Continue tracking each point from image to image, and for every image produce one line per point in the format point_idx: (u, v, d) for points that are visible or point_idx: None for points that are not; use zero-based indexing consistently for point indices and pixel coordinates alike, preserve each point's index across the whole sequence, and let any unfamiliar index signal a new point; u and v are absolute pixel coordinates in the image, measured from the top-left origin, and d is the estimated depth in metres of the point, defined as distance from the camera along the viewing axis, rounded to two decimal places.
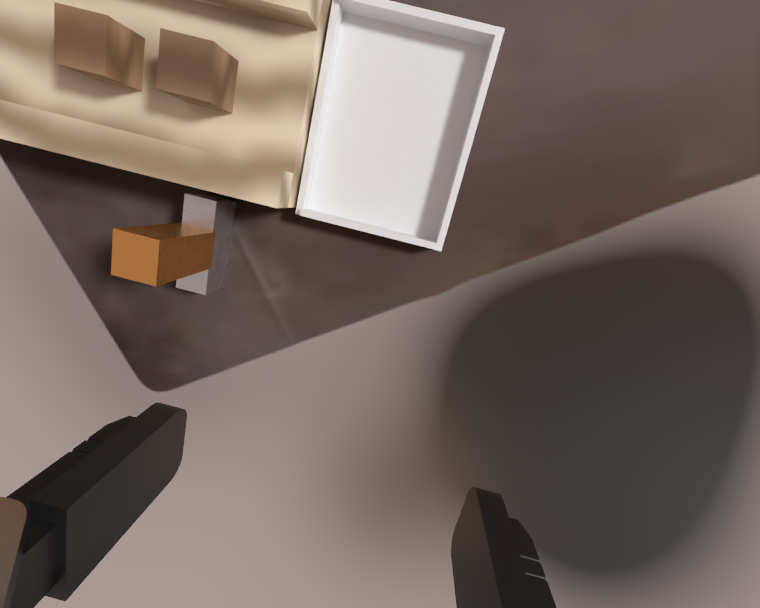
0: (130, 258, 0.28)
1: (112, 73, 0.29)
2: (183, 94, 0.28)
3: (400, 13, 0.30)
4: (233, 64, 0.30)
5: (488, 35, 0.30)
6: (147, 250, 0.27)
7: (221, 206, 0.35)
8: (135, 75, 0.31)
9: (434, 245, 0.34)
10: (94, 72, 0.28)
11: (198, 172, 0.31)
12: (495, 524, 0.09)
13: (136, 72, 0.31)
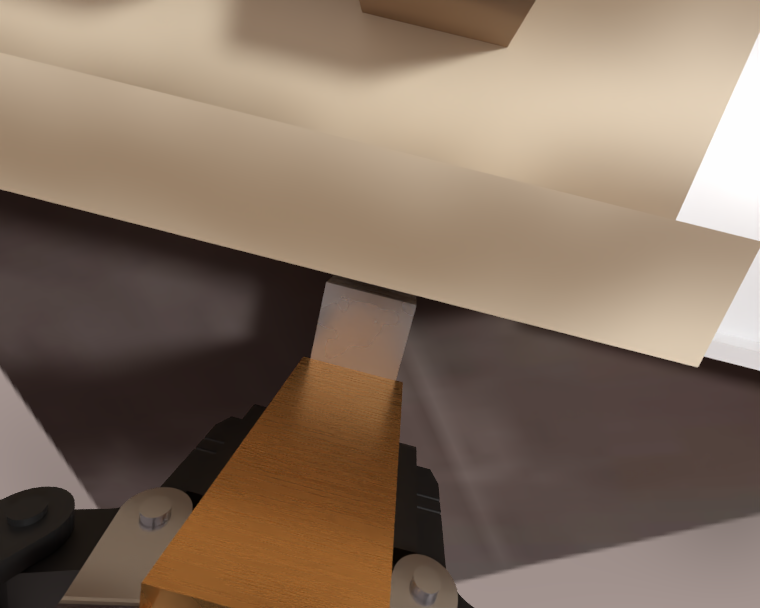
0: None
1: None
2: None
3: None
4: None
5: None
6: None
7: None
8: None
9: None
10: None
11: (433, 243, 0.09)
12: (402, 468, 0.10)
13: None
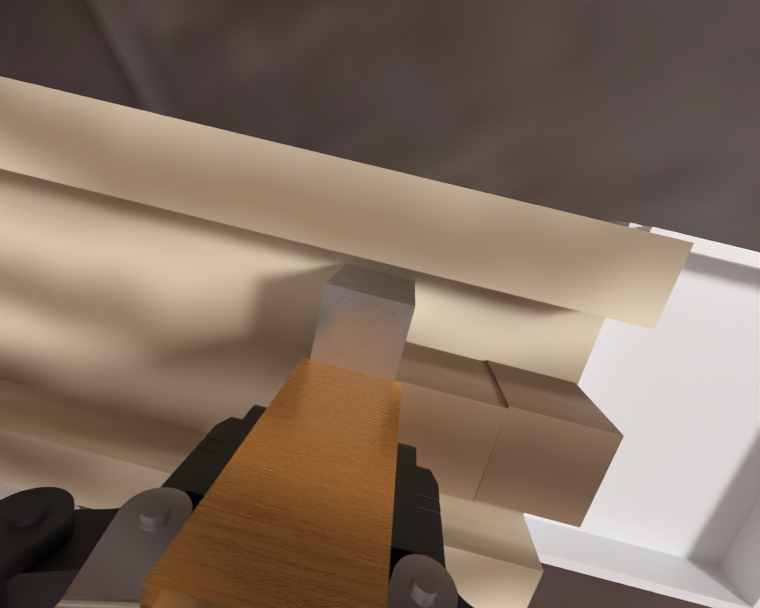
0: None
1: None
2: (529, 512, 0.14)
3: None
4: None
5: None
6: None
7: None
8: None
9: None
10: (451, 494, 0.14)
11: None
12: (402, 468, 0.10)
13: None
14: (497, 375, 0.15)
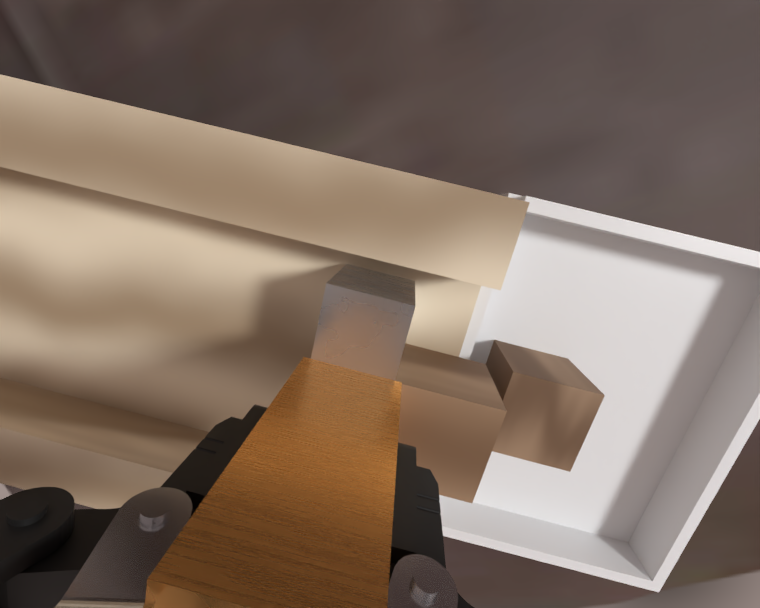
0: None
1: None
2: None
3: (636, 237, 0.16)
4: None
5: None
6: None
7: None
8: None
9: (648, 583, 0.20)
10: (450, 495, 0.14)
11: None
12: (402, 468, 0.10)
13: None
14: (546, 379, 0.16)
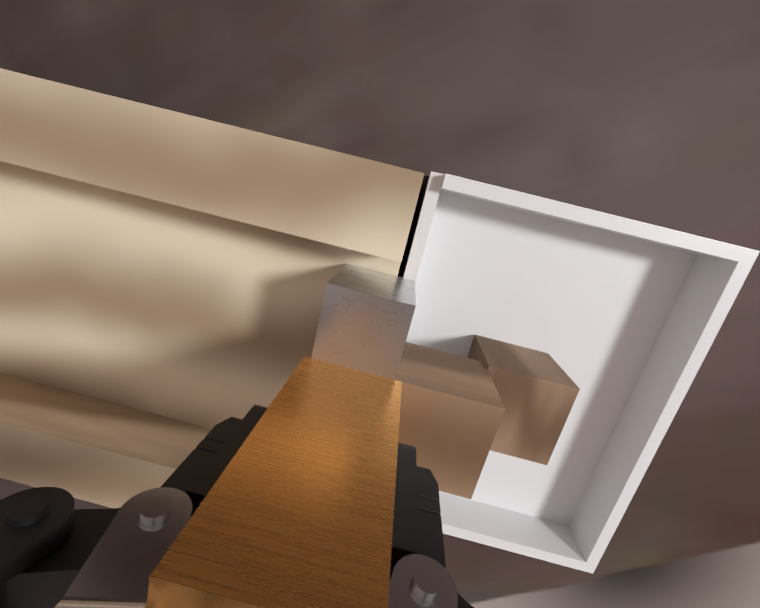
0: None
1: None
2: None
3: (556, 216, 0.16)
4: None
5: (721, 257, 0.16)
6: None
7: None
8: None
9: (582, 564, 0.20)
10: (449, 491, 0.14)
11: None
12: (402, 468, 0.10)
13: None
14: (522, 372, 0.16)
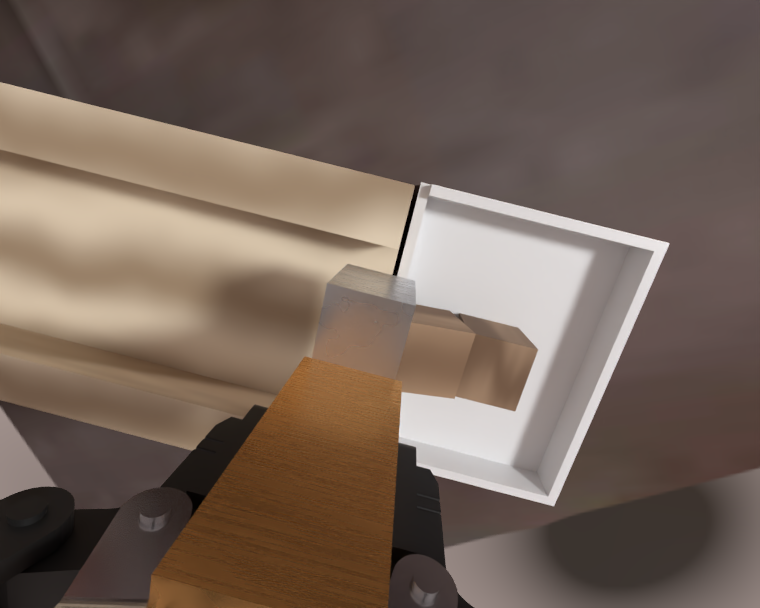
0: None
1: None
2: None
3: (516, 216, 0.21)
4: None
5: (642, 248, 0.21)
6: None
7: None
8: None
9: (544, 498, 0.25)
10: (440, 395, 0.21)
11: None
12: (402, 468, 0.10)
13: None
14: (494, 337, 0.21)
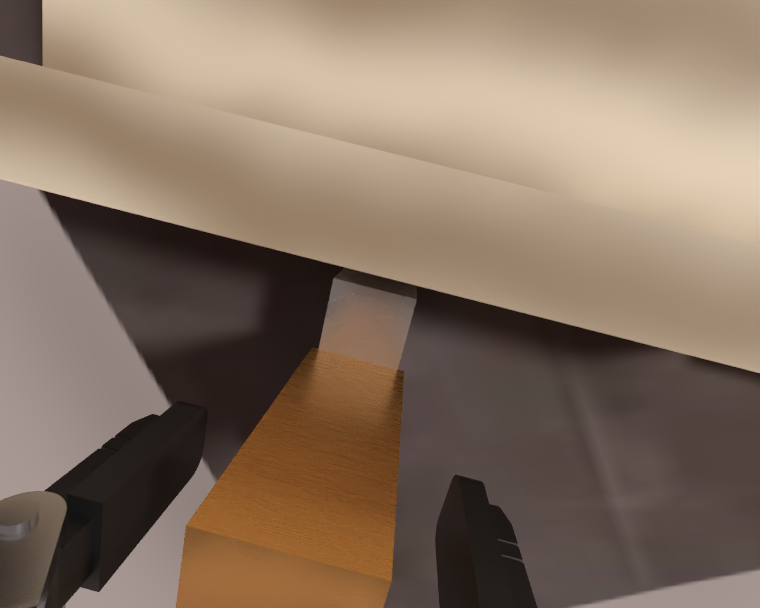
0: None
1: None
2: None
3: None
4: None
5: None
6: None
7: None
8: None
9: None
10: None
11: (743, 316, 0.09)
12: (475, 509, 0.09)
13: None
14: None
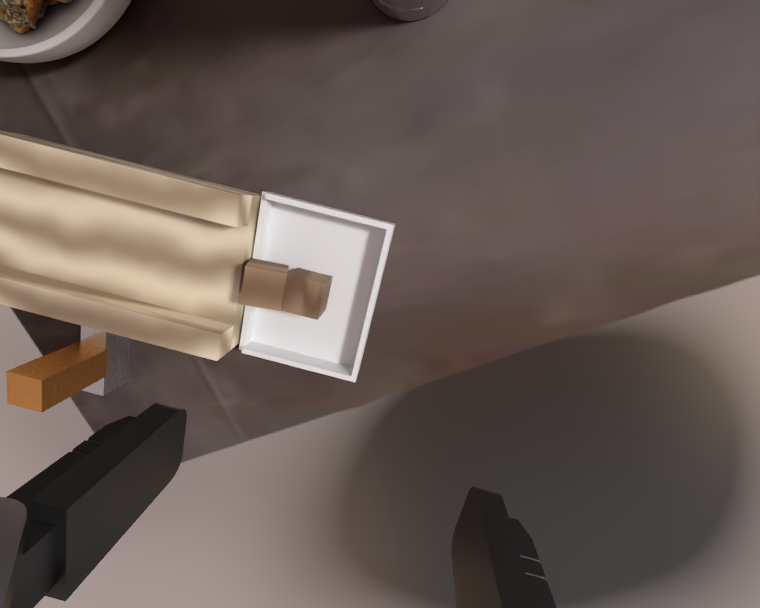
0: (21, 392, 0.36)
1: None
2: (321, 313, 0.42)
3: (313, 210, 0.39)
4: None
5: (382, 228, 0.39)
6: (33, 387, 0.36)
7: None
8: None
9: (349, 377, 0.43)
10: (271, 309, 0.39)
11: (155, 333, 0.39)
12: (495, 524, 0.09)
13: None
14: (301, 277, 0.39)
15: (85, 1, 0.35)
